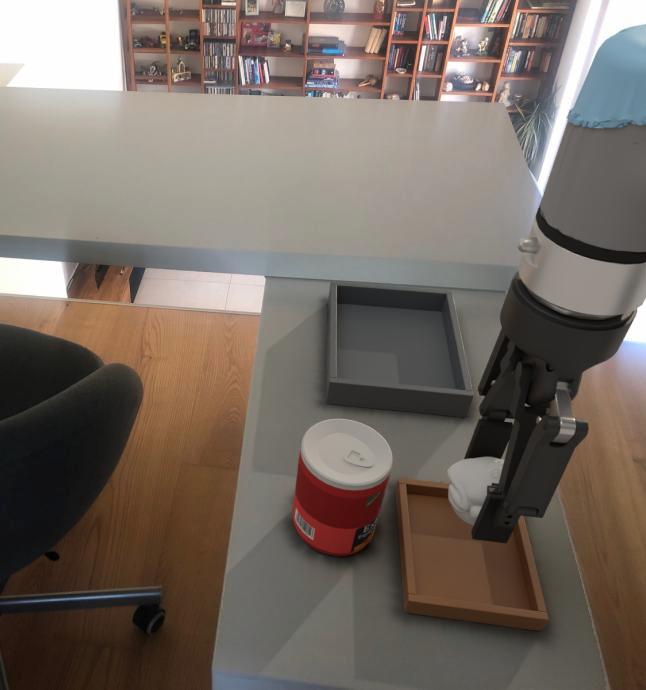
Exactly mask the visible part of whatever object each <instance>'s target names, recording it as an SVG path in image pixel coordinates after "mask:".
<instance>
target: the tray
mask: <svg viewBox="0 0 646 690" xmlns="http://www.w3.org/2000/svg"><path fill="white" fill-rule="evenodd" d="M450 484H451V482H441V481H432V480H431V481H430V480H421V479H415V478H405V477H398V478H397V481H396V484H395V488H394V493H395V494H394V495H395V496H394V497H395V506H396V507H395V508H396V521H397V532H398V547H399V548H398V549H399V560H400V573H401V588H402V599H403V600H402V601H403V611H404V613H405V614H406V613H407V614H413V615H422V616H427V617H435V618H442V619H450V620H456V621H463V622H464V621H465V622H470V623H471V622H472V623H478V624H484V625H493V626H500V627H506V628H515V629H521V630H529V631H535V632H542V631H543V630H544V629H545V626H546V625H547V623H548V622H549V619H550V618H549V614H548V610H547V606H546V602H545V598H544V595H543V590H542V586H541V581H540V577H539V572H538V570H537V564H536V560H535V557H534V553H533V549H532V545H531V541H530V537H529V532H528V528H527V524H526V519H525V516H520V518H519V520H518V522H517V524H516V526H515V528H514V530H513V532H512V534H511V536H510V538H509V540H508V542H507V544H506V543H498V542H491V541H483V540H475V539H472V534H471V531H472V528H473V525H470V524H468V523H466V522H465V521H463V520H462V519H461V518H460V517H459V516H458V515H457V514H456V513H455V511H454V510H453V508H452V505H451V503H450V501H449V498H448V489H449V485H450Z"/></svg>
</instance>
